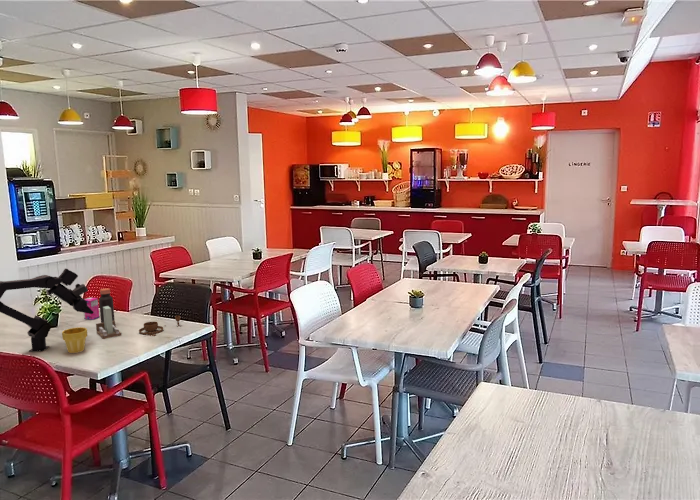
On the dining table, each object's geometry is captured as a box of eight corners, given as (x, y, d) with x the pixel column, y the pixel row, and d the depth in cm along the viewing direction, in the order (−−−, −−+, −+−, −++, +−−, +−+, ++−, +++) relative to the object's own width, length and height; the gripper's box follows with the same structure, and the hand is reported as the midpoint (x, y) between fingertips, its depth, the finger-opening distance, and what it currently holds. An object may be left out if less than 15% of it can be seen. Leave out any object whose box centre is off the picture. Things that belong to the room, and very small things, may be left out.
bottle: (100, 325, 282) (96, 289, 279) (113, 322, 286) (110, 287, 283) (102, 327, 277) (99, 291, 274) (116, 325, 281) (113, 289, 278)
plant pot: (92, 350, 242) (90, 329, 241) (69, 356, 235) (66, 335, 233) (83, 345, 249) (81, 325, 248) (60, 351, 242) (58, 330, 240)
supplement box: (83, 319, 294) (81, 299, 292) (91, 316, 299) (89, 297, 298) (92, 320, 292) (90, 300, 290) (99, 317, 298) (98, 297, 296)
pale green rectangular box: (113, 333, 264) (111, 308, 262) (108, 334, 262) (105, 309, 260) (110, 330, 268) (108, 306, 266) (105, 331, 267) (102, 306, 265)
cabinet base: (121, 335, 264) (120, 325, 263) (102, 338, 259) (101, 329, 258) (115, 329, 274) (114, 320, 273) (96, 333, 268) (95, 323, 267)
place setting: (142, 328, 278) (141, 317, 277) (181, 325, 281) (180, 315, 280) (135, 338, 261) (134, 327, 260) (177, 335, 264) (176, 324, 263)
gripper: (79, 283, 246) (106, 301, 254) (71, 277, 260) (97, 295, 269) (62, 302, 242) (90, 320, 251) (55, 294, 257) (82, 312, 265)
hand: (90, 311), depth 259 cm, fingers open, 9 cm apart
